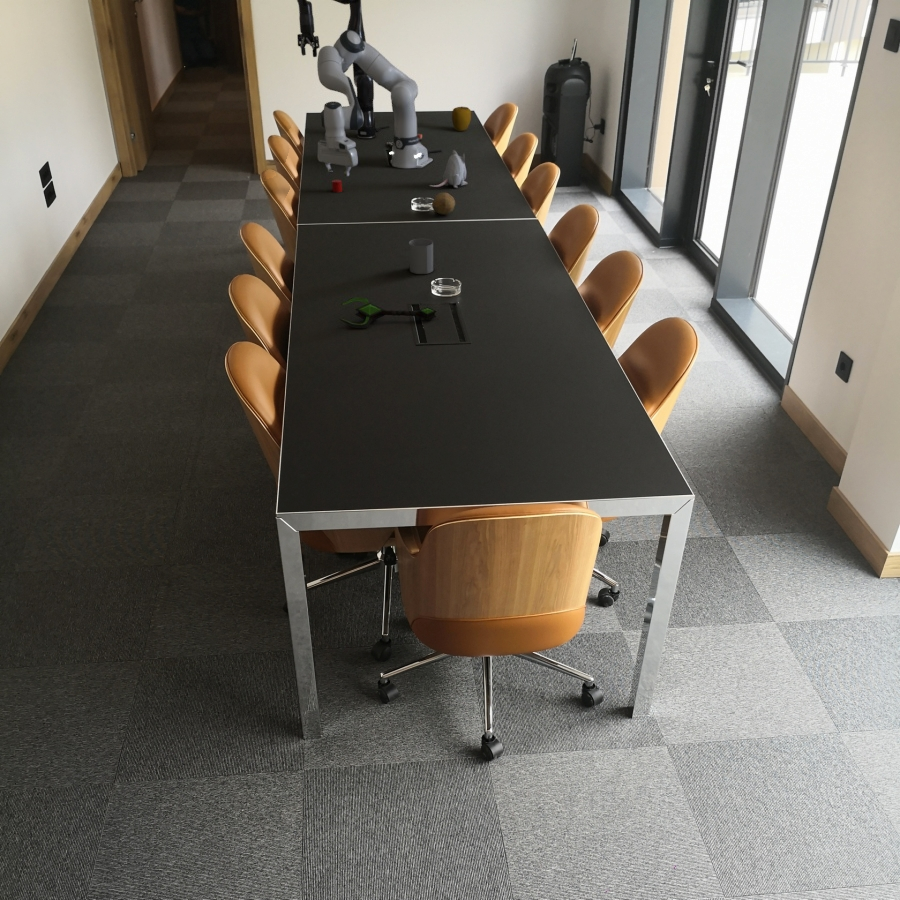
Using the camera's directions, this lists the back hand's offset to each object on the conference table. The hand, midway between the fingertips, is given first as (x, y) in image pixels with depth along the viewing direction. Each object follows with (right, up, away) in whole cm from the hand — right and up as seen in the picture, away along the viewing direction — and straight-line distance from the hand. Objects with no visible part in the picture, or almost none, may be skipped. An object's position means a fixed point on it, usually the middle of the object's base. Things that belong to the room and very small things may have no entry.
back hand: (309, 56), depth 472 cm
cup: (+66, -151, -163) cm, 232 cm away
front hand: (+27, -92, -85) cm, 128 cm away
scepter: (+57, -174, -200) cm, 271 cm away
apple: (+83, -34, +19) cm, 92 cm away
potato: (+74, -116, -109) cm, 175 cm away
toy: (+75, -96, -78) cm, 144 cm away
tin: (+26, -98, -81) cm, 130 cm away
